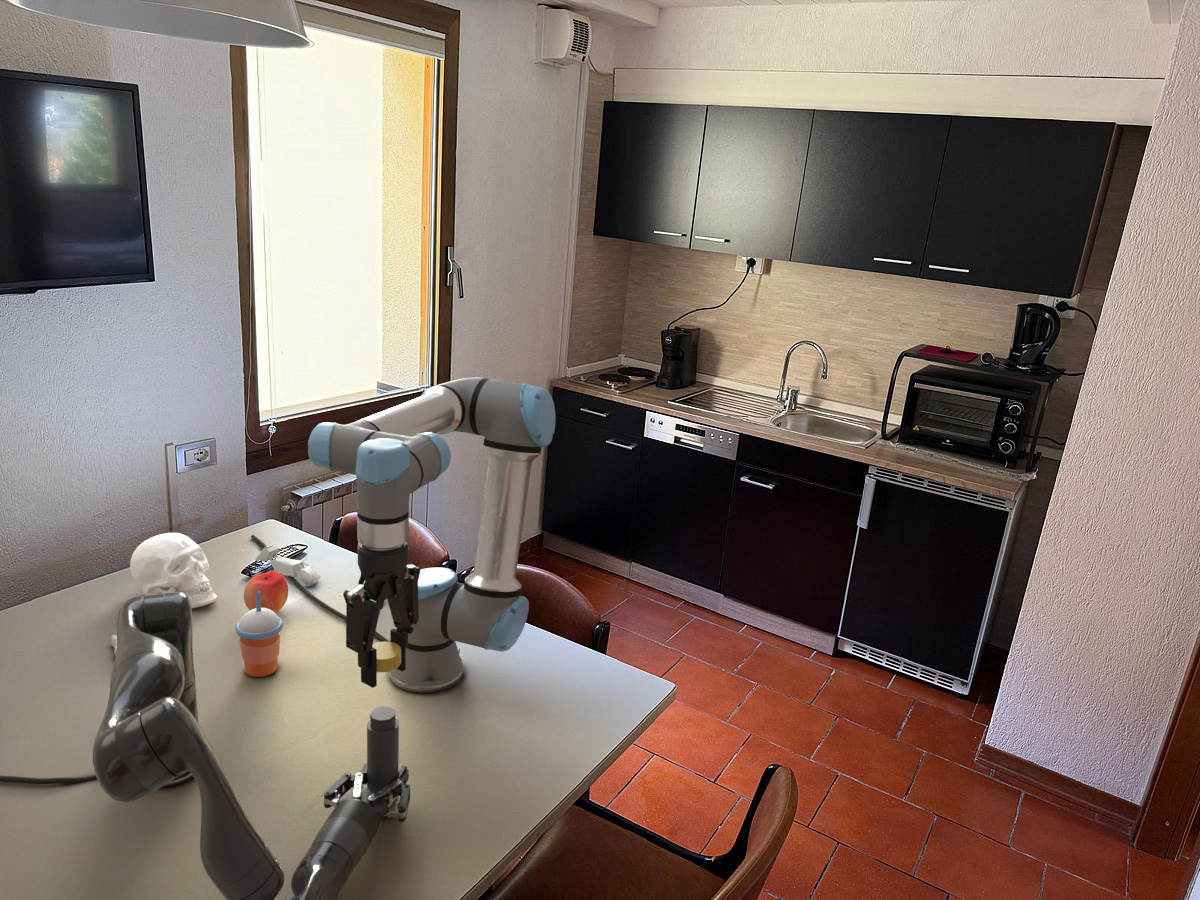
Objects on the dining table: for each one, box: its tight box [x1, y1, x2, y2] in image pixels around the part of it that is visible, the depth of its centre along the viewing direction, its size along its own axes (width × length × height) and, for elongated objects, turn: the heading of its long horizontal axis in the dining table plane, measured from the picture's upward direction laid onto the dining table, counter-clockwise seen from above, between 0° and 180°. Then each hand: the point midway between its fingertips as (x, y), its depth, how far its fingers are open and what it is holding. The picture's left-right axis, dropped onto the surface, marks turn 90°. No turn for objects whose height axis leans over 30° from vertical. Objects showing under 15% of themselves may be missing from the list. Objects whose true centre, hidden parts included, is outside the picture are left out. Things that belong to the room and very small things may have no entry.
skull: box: [129, 532, 217, 609], centre depth 203 cm, size 13×22×16 cm, turn 73°
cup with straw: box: [235, 591, 284, 678], centre depth 176 cm, size 9×9×18 cm
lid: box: [372, 641, 401, 673], centre depth 135 cm, size 6×6×2 cm
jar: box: [366, 705, 400, 819], centre depth 140 cm, size 5×5×19 cm
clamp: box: [254, 544, 322, 587], centre depth 219 cm, size 20×4×7 cm, turn 62°
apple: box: [243, 570, 289, 614], centre depth 199 cm, size 10×10×10 cm
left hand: (388, 767), depth 144 cm, fingers closed on jar, 5 cm apart
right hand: (383, 675), depth 136 cm, fingers closed on lid, 5 cm apart
